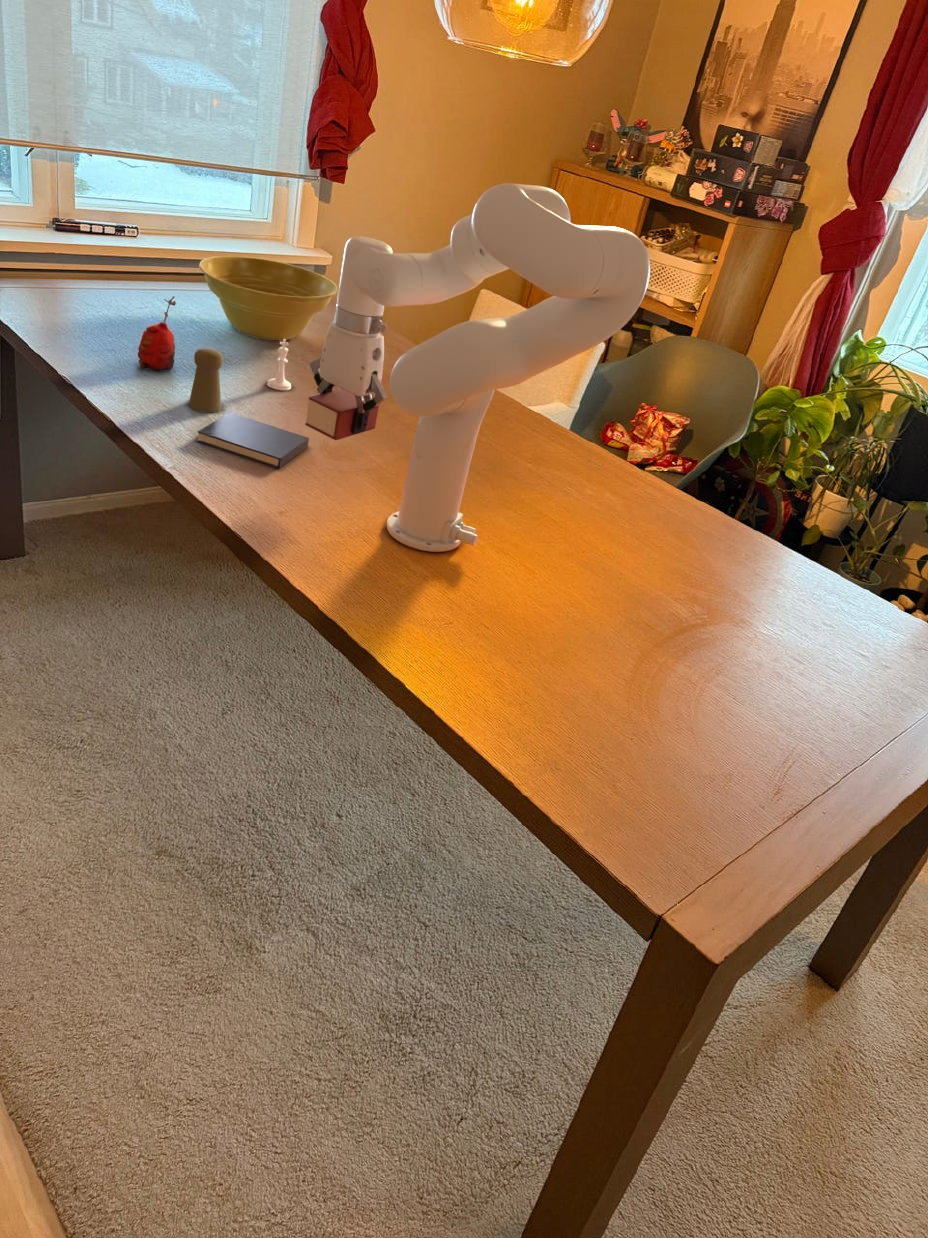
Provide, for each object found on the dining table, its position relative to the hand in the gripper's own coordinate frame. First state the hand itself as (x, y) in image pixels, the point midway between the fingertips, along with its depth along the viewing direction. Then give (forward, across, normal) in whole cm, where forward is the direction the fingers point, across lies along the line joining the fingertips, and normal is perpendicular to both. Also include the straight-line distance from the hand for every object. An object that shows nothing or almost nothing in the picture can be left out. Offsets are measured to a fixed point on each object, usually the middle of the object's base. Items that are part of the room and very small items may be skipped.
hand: (341, 422), depth 156 cm
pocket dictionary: (+1, 0, 0) cm, 1 cm away
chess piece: (+11, +36, -24) cm, 44 cm away
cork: (+11, +34, -2) cm, 36 cm away
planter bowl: (+11, +63, -48) cm, 80 cm away
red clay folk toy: (+11, +53, -7) cm, 55 cm away
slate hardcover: (+10, +17, +3) cm, 20 cm away
